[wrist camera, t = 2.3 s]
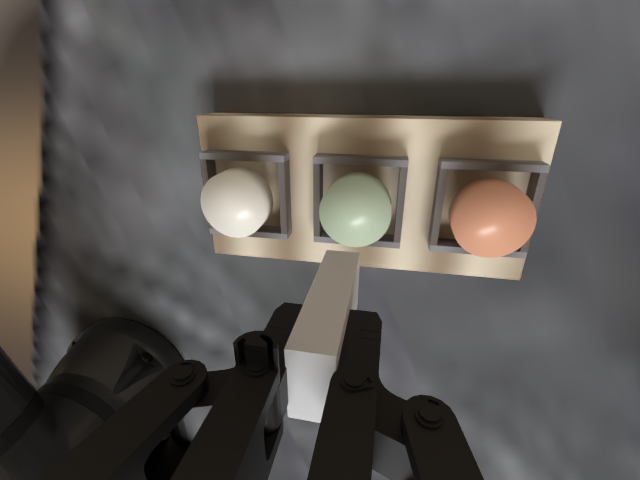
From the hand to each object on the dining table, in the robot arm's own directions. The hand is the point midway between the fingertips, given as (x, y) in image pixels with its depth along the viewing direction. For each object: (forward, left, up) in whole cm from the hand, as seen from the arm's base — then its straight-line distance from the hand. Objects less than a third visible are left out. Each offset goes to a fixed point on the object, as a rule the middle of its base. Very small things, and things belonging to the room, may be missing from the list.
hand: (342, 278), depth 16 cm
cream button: (-9, 0, -11) cm, 14 cm away
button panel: (0, 0, -16) cm, 16 cm away
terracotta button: (+9, 0, -11) cm, 14 cm away
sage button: (0, 0, -11) cm, 11 cm away
